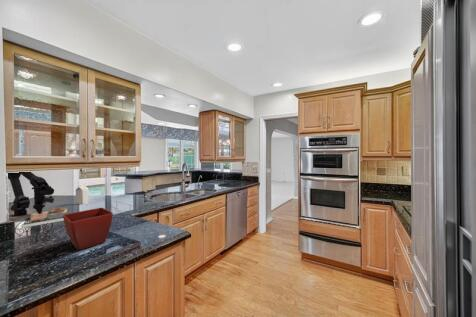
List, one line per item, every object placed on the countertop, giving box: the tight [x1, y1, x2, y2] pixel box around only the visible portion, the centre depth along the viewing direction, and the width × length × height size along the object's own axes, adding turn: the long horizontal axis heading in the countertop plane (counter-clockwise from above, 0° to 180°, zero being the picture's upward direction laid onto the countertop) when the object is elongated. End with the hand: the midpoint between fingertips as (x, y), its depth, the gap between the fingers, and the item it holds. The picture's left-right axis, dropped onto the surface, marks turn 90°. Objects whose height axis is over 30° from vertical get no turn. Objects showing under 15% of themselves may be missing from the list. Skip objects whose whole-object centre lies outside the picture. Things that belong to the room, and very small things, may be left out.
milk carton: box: [75, 184, 90, 205], centre depth 195 cm, size 7×7×19 cm
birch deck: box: [28, 208, 68, 219], centre depth 165 cm, size 22×14×2 cm, turn 131°
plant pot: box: [62, 207, 114, 251], centre depth 114 cm, size 19×19×17 cm
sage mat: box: [21, 216, 64, 229], centre depth 154 cm, size 26×22×1 cm
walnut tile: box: [50, 206, 65, 215], centre depth 168 cm, size 8×10×2 cm
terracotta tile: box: [30, 213, 48, 222], centre depth 152 cm, size 8×10×2 cm
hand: (40, 214), depth 157 cm, fingers closed
